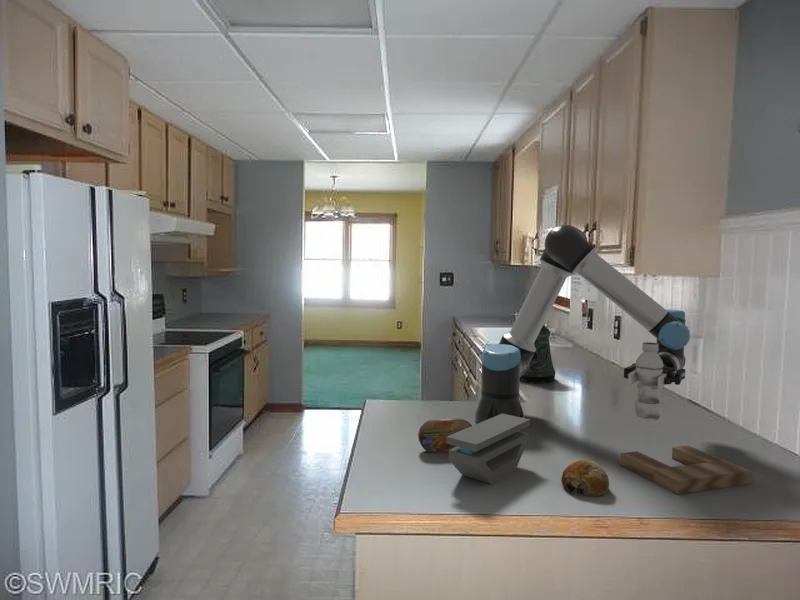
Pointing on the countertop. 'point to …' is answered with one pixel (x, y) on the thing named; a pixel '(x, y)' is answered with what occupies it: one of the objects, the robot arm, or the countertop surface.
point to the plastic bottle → (648, 383)
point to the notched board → (687, 470)
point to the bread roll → (585, 478)
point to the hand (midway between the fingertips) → (644, 381)
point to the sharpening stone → (489, 447)
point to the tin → (440, 433)
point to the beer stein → (540, 360)
